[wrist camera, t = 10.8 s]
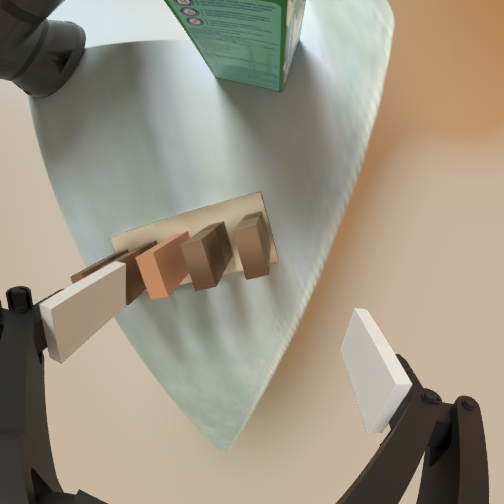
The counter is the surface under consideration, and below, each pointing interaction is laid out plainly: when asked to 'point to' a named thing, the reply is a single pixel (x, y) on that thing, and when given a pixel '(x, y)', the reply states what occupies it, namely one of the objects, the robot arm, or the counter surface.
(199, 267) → the domino
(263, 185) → the counter surface
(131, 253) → the domino
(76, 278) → the domino
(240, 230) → the domino
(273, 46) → the milk carton
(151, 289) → the rust tile
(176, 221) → the birch board
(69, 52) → the robot arm
